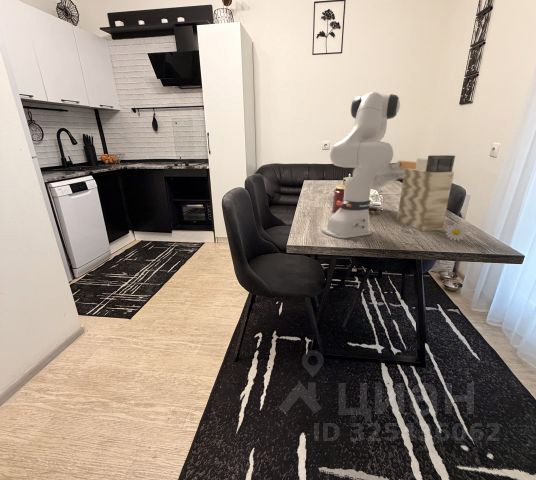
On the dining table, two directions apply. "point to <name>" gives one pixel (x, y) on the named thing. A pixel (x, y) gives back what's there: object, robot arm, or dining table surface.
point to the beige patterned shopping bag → (426, 194)
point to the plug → (415, 164)
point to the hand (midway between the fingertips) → (403, 163)
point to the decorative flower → (456, 232)
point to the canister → (338, 196)
